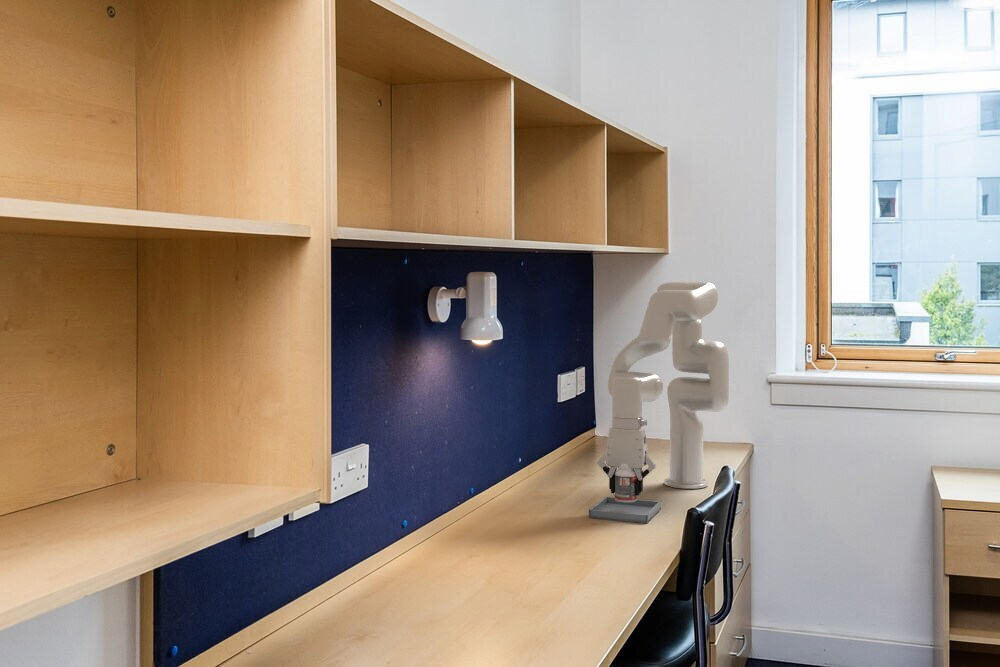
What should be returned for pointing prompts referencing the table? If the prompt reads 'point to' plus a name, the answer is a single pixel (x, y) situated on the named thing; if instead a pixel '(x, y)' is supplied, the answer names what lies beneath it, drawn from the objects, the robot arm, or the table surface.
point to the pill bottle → (625, 484)
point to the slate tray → (625, 510)
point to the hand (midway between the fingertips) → (625, 492)
